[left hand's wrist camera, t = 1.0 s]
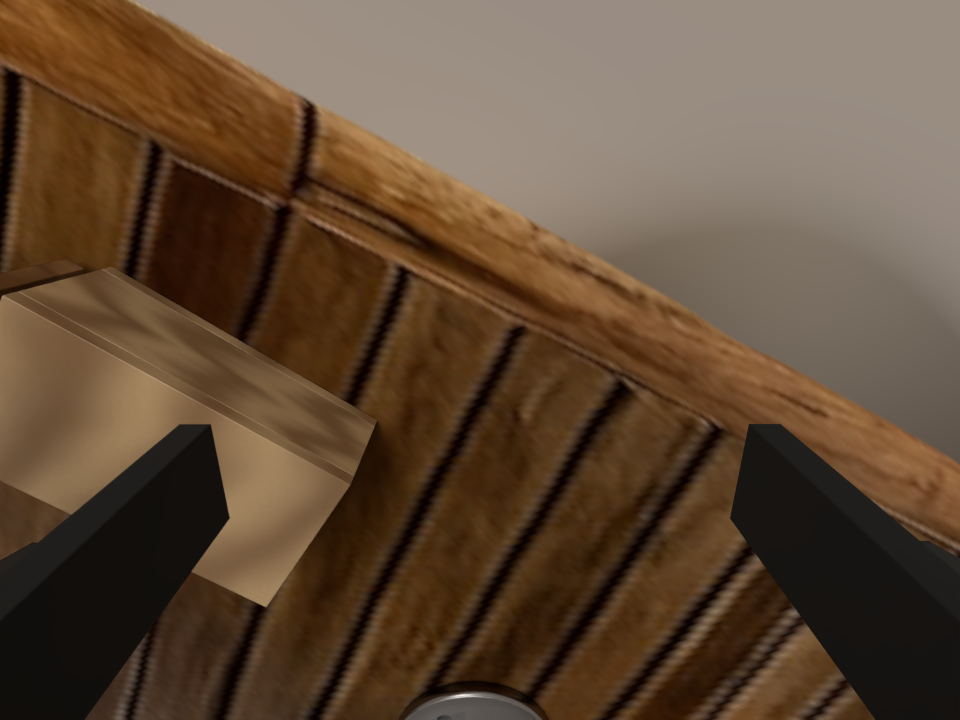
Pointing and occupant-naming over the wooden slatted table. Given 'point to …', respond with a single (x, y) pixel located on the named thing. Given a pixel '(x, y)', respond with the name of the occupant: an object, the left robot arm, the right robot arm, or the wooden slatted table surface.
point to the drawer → (37, 276)
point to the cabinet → (170, 417)
